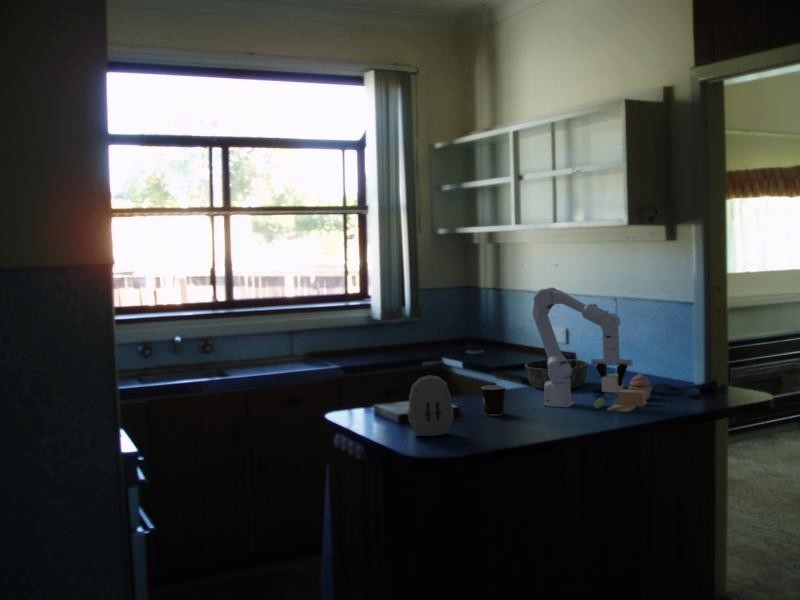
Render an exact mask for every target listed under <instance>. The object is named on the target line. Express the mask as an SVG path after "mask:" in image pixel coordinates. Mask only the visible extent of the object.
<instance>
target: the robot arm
mask: <svg viewBox="0 0 800 600" xmlns="http://www.w3.org/2000/svg"><path fill="white" fill-rule="evenodd" d="M559 304H560V305H565V306H567V307H569V308H570V309H572V310H575V311H577V312H579V313H581V315H582V318H583V319H585V320H587V321H589V322H591V323H592V324H593V323H594V324H595V325H597V326H599V327H600V328H601V330H602V355H603V358H591V359H590V363H591V364H590V365H591V366H595V365H596V366H595V367H596V370H597V372H598V374H599V376H600V379H601V380H602V377H604V376H606V375H607V368H608V367H607V366H616V368H617V374H618V385H619V386H621V385H622V381H623V382H624V377H625V374H626V372H627V370H628V367H632V366H633V362H634V361H633V359H623V358H620V357H621V354H620V334H619V331H620V330H619V327H620V325H621V319H620V317H619V315H617V314H616V313H613V312H612V313H611V312H610V311H609V310H604V309H602V308H600V307H598V304H596V303H588V304H585V303H583V302H581V301H580V300H578V299H576V298H575V297H573V296H571V295H569V294H568V293H566V292H564V291H562V290H560V289H557V288H555V287H548V288H541V289H539V290H537V292H536V293H535V295H534V297H533V308H532V317H533V320H534V323H535V325H536V328H537V331H538V334H539V337H540V339H541V343H542V345H543V348H544V350H545V354H546V357H547V359H548V363H547V366H548V376H549V378H550V379H551V381H547V382H546V383H545V385H544V390H543V395H544V397H543V398H544V399H543V400H544V403H543V406H544V405H546V406H545V407H555V408H556V407H558V408H569V407H571V406H573V405H574V404H575V403H576V402H575V401H572V392H571V390H572V389H571V386H570V378H569V377H570V376H571V374H572V367H571V366H570V365H569V364H568V362H567V361H566V359H567V358H566V357H565V356H564V355H563V354H562V351H561V348H560V346H559V342H558V340H557V337H556V334H555V332H554V328H553V326H552V323H551V320H550V317H549V313H550V311H552V310H551V309H552V307H554V306H555V305H559Z"/></svg>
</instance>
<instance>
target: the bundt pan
mask: <svg viewBox="0 0 800 600" xmlns="http://www.w3.org/2000/svg"><path fill="white" fill-rule="evenodd" d="M566 361H567V362H568V364H569V365H570V366H571V367H572V374H571V376H570V377H569V378H570V386H571V390H573V389H576V388H578V387H580V386H582V385H583V383H584V382H585V381H586V377H587V370H588V365H589V362H586V361H585V360H579V359H570V358H566ZM547 363H548V358H547V359H538V360H532V361H530V362H529V361H528V362H526V363H525V364H524V367H525V372H526V378H527V380H528V382H529V384H530V385H531V386H533V387H535V388H536V389H541V390H543V389H544V385H545V383H546V382H547V381H551V379H550V378H549V376H548V366H547Z"/></svg>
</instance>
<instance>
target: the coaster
mask: <svg viewBox="0 0 800 600" xmlns="http://www.w3.org/2000/svg"><path fill="white" fill-rule="evenodd" d="M636 407H637V406H629V405H618V404H612V405H611V406H609V407H608V408H607V409H606V411H611V412H622V413H623V412H624V413H625V412H627V413H630V412H631V411H633V410H634V409H636Z"/></svg>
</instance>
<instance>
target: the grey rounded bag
mask: <svg viewBox="0 0 800 600" xmlns="http://www.w3.org/2000/svg"><path fill="white" fill-rule="evenodd" d="M410 388H411V389H410V393H409V394H408V395H409V396H408V402H409V403H408V407H409V408H408V409H407V417H408V423H409V424H410V425H411V426H410V427H411V429H412V431H413V434H414V433H416V434H424V435H432V434H444V435H446V433H447V434H449V433H450V430H451V427H452V423H453V421H454V419H455V418H454V414H455V411H454V407H453V406H452V405H453V402H452V394H451V392H450V390H449V387H448V382H447V381H445V380H444V379H442V378H441V377H440V376H438V375H437V376H436V375H431V374H428V375H425V376H422V377H418V379H417V380H416V381H415V382H413V384H412V385H411V387H410Z"/></svg>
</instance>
